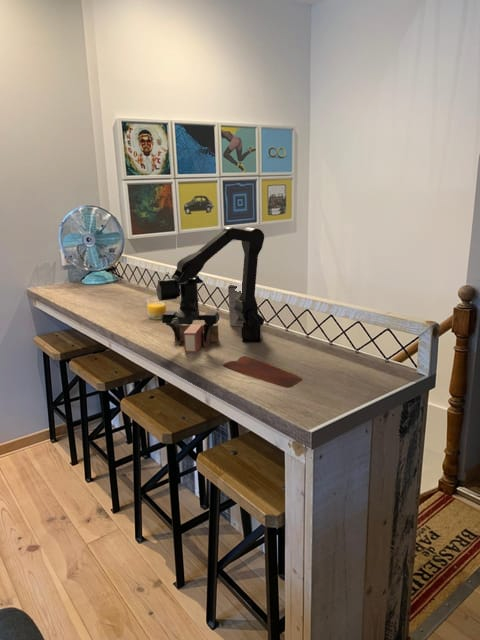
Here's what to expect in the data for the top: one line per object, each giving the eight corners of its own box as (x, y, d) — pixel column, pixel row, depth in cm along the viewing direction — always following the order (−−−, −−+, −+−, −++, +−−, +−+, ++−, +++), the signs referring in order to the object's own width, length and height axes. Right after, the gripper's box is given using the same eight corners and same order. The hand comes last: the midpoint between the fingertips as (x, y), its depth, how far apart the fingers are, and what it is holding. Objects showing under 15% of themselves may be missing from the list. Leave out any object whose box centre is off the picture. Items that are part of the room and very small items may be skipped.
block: (203, 343, 175) (202, 324, 173) (196, 353, 165) (195, 333, 163) (192, 342, 176) (191, 324, 174) (184, 352, 166) (183, 333, 164)
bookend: (191, 340, 178) (190, 327, 176) (187, 345, 172) (186, 332, 171) (183, 340, 178) (182, 327, 177) (179, 345, 173) (178, 331, 172)
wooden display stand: (218, 340, 177) (218, 324, 175) (214, 346, 171) (214, 330, 169) (176, 339, 180) (174, 323, 178) (170, 345, 173) (169, 329, 172)
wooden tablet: (221, 367, 154) (220, 362, 153) (243, 358, 160) (243, 354, 160) (285, 391, 135) (285, 386, 135) (308, 380, 142) (308, 375, 141)
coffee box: (234, 319, 202) (232, 281, 198) (249, 320, 201) (248, 281, 196) (229, 326, 193) (227, 286, 189) (245, 326, 192) (244, 286, 188)
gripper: (154, 302, 157) (158, 348, 161) (211, 303, 154) (213, 350, 158) (165, 294, 167) (168, 338, 172) (218, 295, 164) (220, 339, 169)
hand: (192, 341), depth 167 cm, fingers open, 9 cm apart
